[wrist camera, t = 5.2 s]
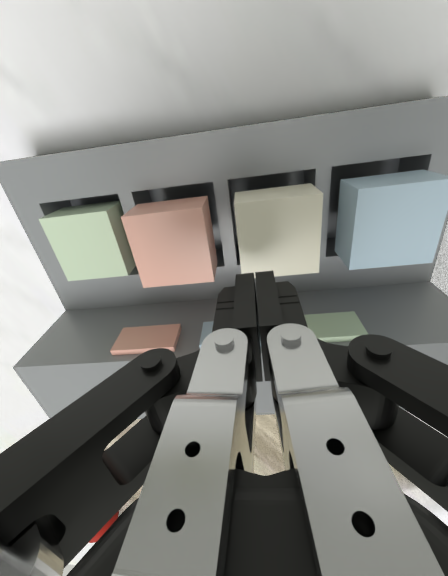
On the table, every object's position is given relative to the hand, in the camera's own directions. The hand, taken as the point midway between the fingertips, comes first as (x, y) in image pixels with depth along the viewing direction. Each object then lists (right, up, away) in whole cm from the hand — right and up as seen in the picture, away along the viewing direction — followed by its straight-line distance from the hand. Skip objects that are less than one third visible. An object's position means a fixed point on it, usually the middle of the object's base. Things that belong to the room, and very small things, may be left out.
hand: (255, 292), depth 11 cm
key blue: (+7, +5, +5) cm, 10 cm away
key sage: (-9, +4, +8) cm, 13 cm away
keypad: (-1, +4, +10) cm, 10 cm away
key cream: (+2, +4, +5) cm, 7 cm away
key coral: (-4, +4, +6) cm, 8 cm away
